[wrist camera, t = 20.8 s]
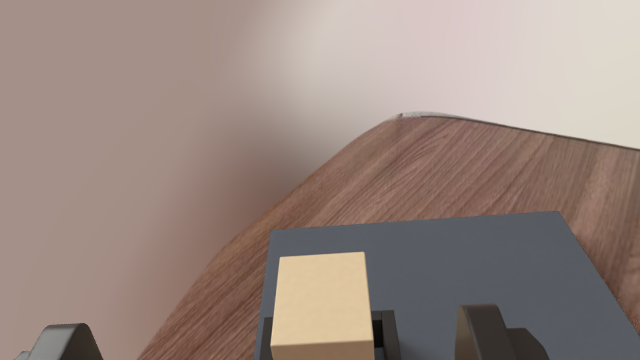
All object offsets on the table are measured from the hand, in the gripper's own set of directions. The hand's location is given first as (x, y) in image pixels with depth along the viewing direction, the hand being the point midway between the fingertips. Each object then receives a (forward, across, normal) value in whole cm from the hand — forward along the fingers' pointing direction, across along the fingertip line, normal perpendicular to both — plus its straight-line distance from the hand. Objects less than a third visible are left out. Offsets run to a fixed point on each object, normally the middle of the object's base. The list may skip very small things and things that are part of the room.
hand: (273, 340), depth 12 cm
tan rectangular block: (+11, 0, +18) cm, 21 cm away
